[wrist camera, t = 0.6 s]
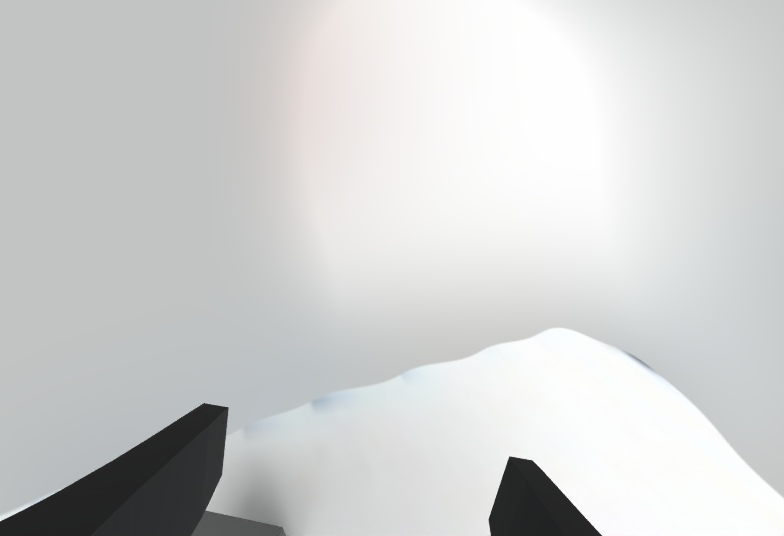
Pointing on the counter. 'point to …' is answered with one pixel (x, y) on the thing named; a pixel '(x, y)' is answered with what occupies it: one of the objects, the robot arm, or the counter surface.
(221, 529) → the block
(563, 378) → the counter surface
